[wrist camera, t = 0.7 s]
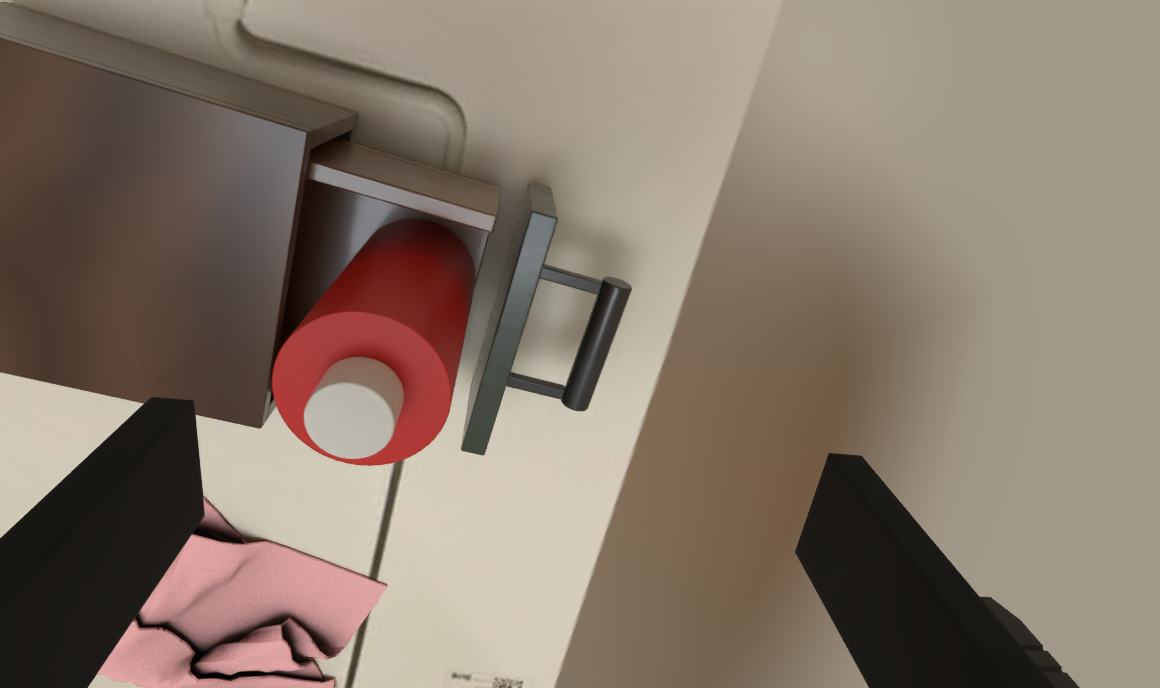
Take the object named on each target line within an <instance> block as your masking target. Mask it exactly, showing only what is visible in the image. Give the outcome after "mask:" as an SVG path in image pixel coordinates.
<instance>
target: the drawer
mask: <svg viewBox="0 0 1160 688" xmlns="http://www.w3.org/2000/svg"><path fill="white" fill-rule="evenodd" d="M500 193H501V188H499V187H496V186H493V185H490V184H486V183H483V182H480V181H476V180H473V179H470V178H467V177H463V176H460V175H457V174H454V173H450V172H447V171H444V170H440V169H437V168H434V167H431V166H427V165H424V164H421V163H418V162H414V161H411V160H408V159H404V158H401V157H398V156H395V155H391V154H388V153H385V152H382V151H378V150H375V149H372V148H368V147H365V146H362V145H359V144H355V143H352V142H349V141H346V140H342V139H339V138H336V137H335V138H333V139H331V140H329V141H327V142H324V143H322V144H320V145H318V146H316V147H314V148H312V149H311V150H310V156H309V162H308V168H307V175H306V181H305V187H304V193H303V199H302V206H301V212H300V218H299V224H298V230H297V236H296V243H295V249H294V255H293V261H292V267H291V273H290V280H289V286H288V292H287V298H286V304H285V310H284V317H283V323H282V329H281V335H280V341H279V348H278V353H279V351H280V349H281V348H282V346H283V344H284V343H285V341H286V340H287V339H288V338H289V336H290V335H291V334H292V333H293V332H294V330H295V329H296V328H297V327H298V325H299V324H300V323H301V322H302V320H303V319H304V318H305V317H306V316H307V314H308V313H309V312H310V311H311V309H312V308H313V307H314V306H315V304H316V303H317V302H318V301H319V300H320V298H321V297H322V296H323V295H324V293H325V292H326V291H327V290H328V288H329V287H330V286H331V285H332V284H333V282H334V281H335V280H336V279H337V277H338V276H339V275H340V274H341V272H342V271H343V270H344V269H345V268H346V266H347V265H348V264H349V263H350V261H351V260H352V259H353V258H354V256H355V255H356V254H357V253H358V251H359V250H360V249H361V248H362V247H363V245H364V244H365V243H366V242H367V240H368V239H369V238H370V237H371V236H372V235H373V234H374V233H375V232H376V231H377V230H378V229H380V228H382V227H383V226H385V225H387V224H389V223H391V222H395V221H398V220H403V219H422V220H427V221H431V222H434V223H437V224H439V225H441V226H443V227H445V228H446V229H448V230H449V231H451V232H452V233H453V234H455V235H456V236H457V237H458V238H459V239H460V240H461V241H462V243H463V244H464V245H465V247H466V248H467V250H468V252H469V254H470V256H471V258H472V261H473V264H474V269H475V284H476V280H477V277H478V273H479V269H480V266H481V262H482V258H483V255H484V251H485V248H486V244H487V240H488V237H489V233H491V232H493V230H494V226H495V222H496V219H497V213H498V207H499V200H500ZM557 221H558V218H557V213H556V208H555V204H554V199H553V194H552V189H551V188H549V187H546V186H543V185H539V184H536V183H533V182H530V183H529V186H528V189H527V193H526V196H525V200H524V203H523V207H522V210H521V214H520V217H519V220H518V224H517V227H516V231H515V234H514V238H513V241H512V245H511V248H510V252H509V255H508V259H507V262H506V265H505V269H504V272H503V276H502V279H501V283H500V286H499V290H498V293H497V297H496V300H495V304H494V307H493V310H492V314H491V317H490V321H489V324H488V328H487V331H486V335H485V338H484V342H483V345H482V349H481V352H480V355H479V359H478V362H477V366H476V369H475V373H474V376H473V380H472V383H471V387H470V393H469V400H468V407H467V413H466V420H465V426H464V433H463V439H462V446H461V450H462V451H465V452H470V453H474V454H479V455H484V454H485V452H486V449H487V446H488V442H489V439H490V436H491V433H492V430H493V426H494V423H495V420H496V417H497V414H498V410H499V407H500V404H501V401H502V397H503V394H504V391H505V388H506V386H508V387H512V388H517V389H521V390H525V391H529V392H533V393H537V394H541V395H545V396H549V397H553V398H557V399H561V402H562V403H563V404H564V405H565V406H566V407H568V408H570V409H572V410H575V411H585V410H587V409H588V407H589V404H590V401H591V399H592V396H593V393H594V390H595V388H596V385H597V382H598V380H599V377H600V374H601V372H602V369H603V366H604V363H605V361H606V358H607V355H608V353H609V350H610V347H611V344H612V342H613V339H614V336H615V334H616V331H617V328H618V325H619V323H620V320H621V317H622V315H623V312H624V309H625V307H626V304H627V301H628V298H629V296H630V293H631V290H632V287H631V285H629V284H628V283H626V282H625V281H622V280H620V279H617V278H613V277H604V278H603V280H602V282H601V280H598V279H594V278H591V277H587V276H584V275H580V274H577V273H573V272H570V271H566V270H563V269H559V268H556V267H552V266H549V265H545V264H544V263H545V259H546V256H547V253H548V250H549V247H550V243H551V240H552V237H553V234H554V231H555V227H556V224H557ZM540 278H541V279H544V280H548V281H551V282H555V283H558V284H562V285H566V286H569V287H573V288H576V289H580V290H583V291H587V292H590V293H594V294H597V297H596V300H595V303H594V306H593V309H592V312H591V314H590V317H589V320H588V323H587V326H586V329H585V332H584V334H583V337H582V340H581V343H580V346H579V349H578V352H577V354H576V357H575V360H574V363H573V366H572V369H571V372H570V374H569V377H568V380H567V383H566V386H565V387H564V385H560V384H556V383H552V382H548V381H544V380H540V379H536V378H532V377H528V376H524V375H520V374H516V373H513V372H511V369H512V365H513V362H514V359H515V356H516V353H517V349H518V346H519V343H520V340H521V337H522V333H523V330H524V327H525V324H526V320H527V317H528V314H529V311H530V308H531V304H532V301H533V298H534V295H535V292H536V288H537V285H538V282H539V279H540ZM474 288H475V287H474ZM277 355H278V354H277ZM271 393H273V389H272V391H271Z"/></svg>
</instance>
